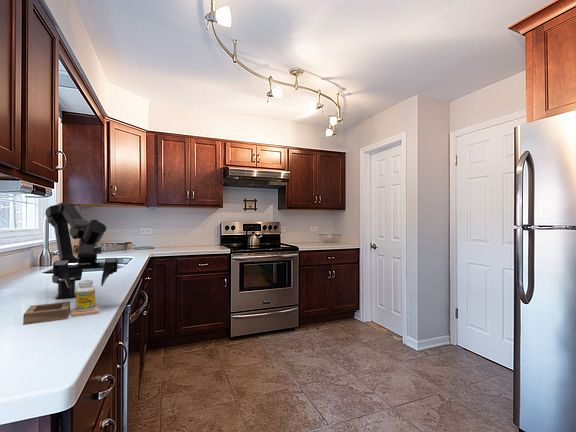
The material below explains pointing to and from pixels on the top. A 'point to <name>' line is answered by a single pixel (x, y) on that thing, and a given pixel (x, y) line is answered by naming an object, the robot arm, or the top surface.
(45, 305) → the pocket block
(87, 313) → the coaster
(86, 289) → the supplement bottle
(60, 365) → the top surface
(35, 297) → the top surface
